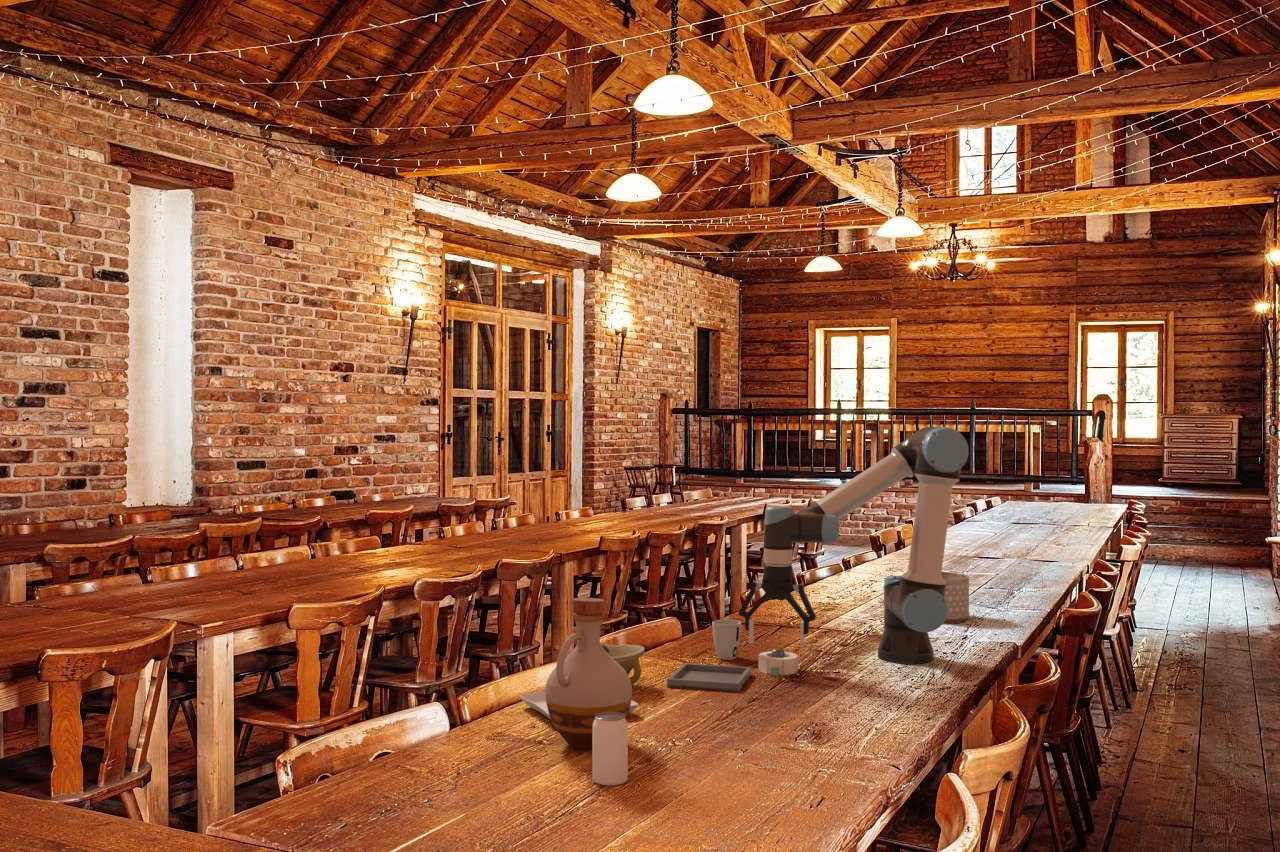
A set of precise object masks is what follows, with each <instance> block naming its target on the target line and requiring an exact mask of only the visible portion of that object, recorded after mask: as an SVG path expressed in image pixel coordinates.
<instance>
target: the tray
mask: <svg viewBox="0 0 1280 852" xmlns="http://www.w3.org/2000/svg"><path fill="white" fill-rule="evenodd" d="M751 676H752V666H736V665H735V666H734V665H723V664H722V665H720V664H705V663H704V664H702V663H688V662H687V663H686V662H685V663H682V664H681V665H680V666H679V667H678V668H677V669H676V670H675V671H674V672H673V673H672V674H670V675H669V677H667V678H666V687H667V688H675V689H676V688H677V689H691V690H703V691H704V690H706V691H720V692H721V691H723V692H734V693H735V692H736V693H739V692H740V690H741V689H742V688H743V687H744V685H746V683H747V681H748V680H749V679H750V678H751Z"/></svg>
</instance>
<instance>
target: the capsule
mask: <svg viewBox="0 0 1280 852" xmlns="http://www.w3.org/2000/svg"><path fill="white" fill-rule="evenodd" d="M771 651H772V657H773V658H784V652H785V649H784V648H772V649H771Z"/></svg>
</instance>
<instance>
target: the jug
mask: <svg viewBox="0 0 1280 852" xmlns="http://www.w3.org/2000/svg"><path fill="white" fill-rule="evenodd" d="M571 601H572V605H573V609H574V612H572V618H573V620H574V621H575V626H576V632H573V633H572V634H570V635H569V636H568V637H567V638H566V639H565V641H564V643H563V644H562V646H561V649H560V650H559V653H558V656H557V659H556V665H555V668H554V669H553V670H552V671H551V673H550V674H549V676H548V677H547V680H546V683H545V689H544V691H545V698H546V704H547V708H548V712H549V715H550V718H551V719H550V720H551V723H552V725H553V727H554V729H556V730H557V733H558V734H559V735H560V736H561V737H562V739H564V741H565V742H566V744H567V745H568V746H569V747H570V748H572V749H574V750H578V751H593V722H594V720H595V715H596V714H598V713H602V712H619V713H622V714H624V715H625V720H626V721H627V719H628V715H629V713H630V712H629V709H630V704H631V700H633V699H632V698H633V696H632V695H633V687H632V686H633V684H632V685H631V680H630V676H629V674H628V675H627V673H626V671H625V670H624V669H623V668H622V667H621V666H620V665H619V664H618V663H617V662H616V661H615V660H614V659H613V658H612V657H611V656H610V655H609V654H608V653H607V652H606V651H605V650H604V649H603V648H602V647H601V646H602V644H601V641H600V640H601V629H602V628H601V627H602V622H603V620H604V618H605V612H603V609H604V605H605V602H606V600H605V599H603V598H596V597H594V598H593V597H575V598H572V600H571ZM575 641H577V642H576V646H575V647H574V648H573V650H571V651H570V652H569V650H570V648H571V646H572V645H573V643H574V642H575ZM568 652H569V654H568ZM567 654H568V655H567Z"/></svg>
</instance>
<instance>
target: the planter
mask: <svg viewBox="0 0 1280 852" xmlns="http://www.w3.org/2000/svg"><path fill="white" fill-rule="evenodd" d="M941 576H942V578H943V579H944V581H945V582H946V587H945V595H944V598H945V600H946V602H947V605H948V614H947V618H946V620H945V622H944V623H943V624H945V623H946V624H948V623H950V624H951V623H959V622H962V621H963V620H964V619H967V618H969V617H970V576H969V575H967V574H964V573H959V572H952V571H951V572H949V571H948V572H947V571H942V572H941Z"/></svg>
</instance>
